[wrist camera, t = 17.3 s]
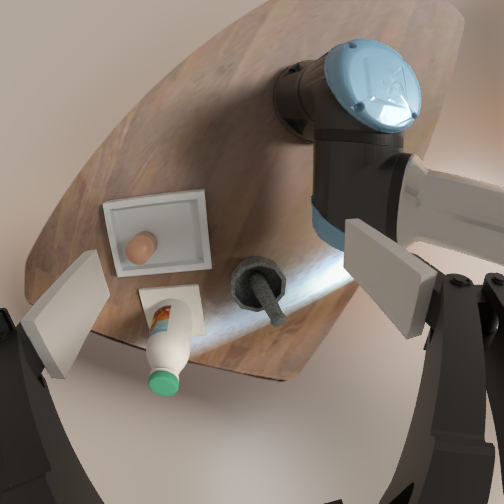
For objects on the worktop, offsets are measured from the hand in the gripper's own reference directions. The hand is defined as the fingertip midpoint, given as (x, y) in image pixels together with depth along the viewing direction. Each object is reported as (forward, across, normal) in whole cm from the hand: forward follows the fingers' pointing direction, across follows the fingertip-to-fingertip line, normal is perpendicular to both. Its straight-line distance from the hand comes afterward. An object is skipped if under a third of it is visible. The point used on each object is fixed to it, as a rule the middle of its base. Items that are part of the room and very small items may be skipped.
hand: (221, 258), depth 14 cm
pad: (+36, -13, -26) cm, 46 cm away
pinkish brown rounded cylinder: (+35, -14, -10) cm, 39 cm away
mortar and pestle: (+36, +5, -19) cm, 42 cm away
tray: (+36, -12, -9) cm, 39 cm away
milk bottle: (+35, -12, -26) cm, 45 cm away
